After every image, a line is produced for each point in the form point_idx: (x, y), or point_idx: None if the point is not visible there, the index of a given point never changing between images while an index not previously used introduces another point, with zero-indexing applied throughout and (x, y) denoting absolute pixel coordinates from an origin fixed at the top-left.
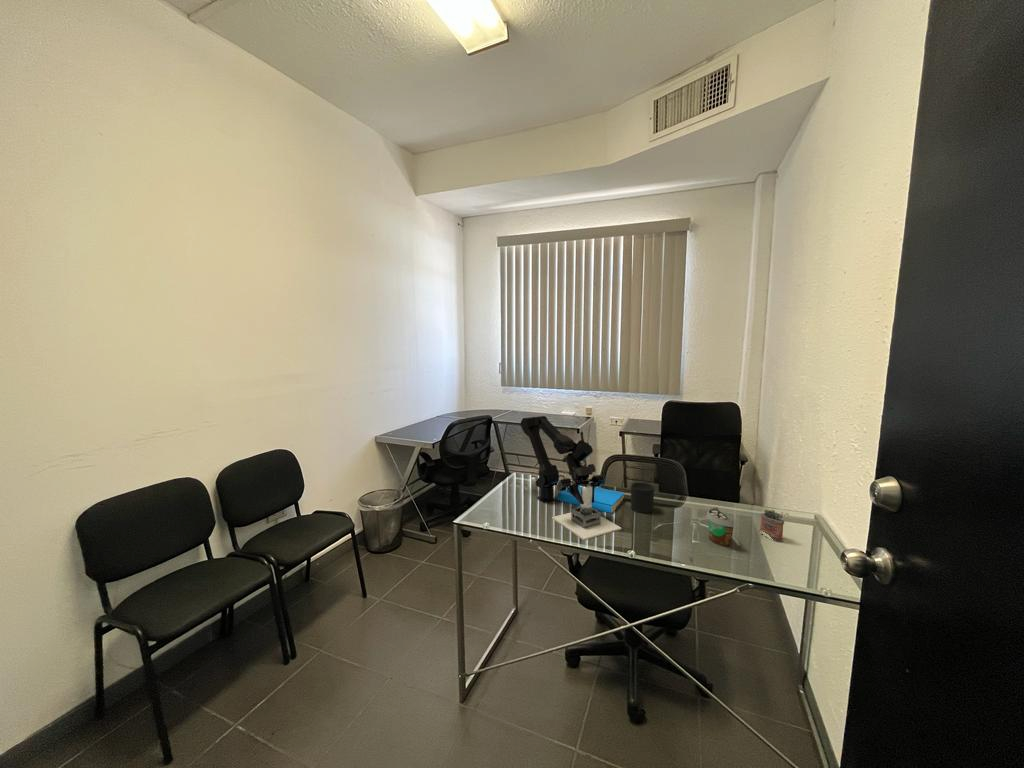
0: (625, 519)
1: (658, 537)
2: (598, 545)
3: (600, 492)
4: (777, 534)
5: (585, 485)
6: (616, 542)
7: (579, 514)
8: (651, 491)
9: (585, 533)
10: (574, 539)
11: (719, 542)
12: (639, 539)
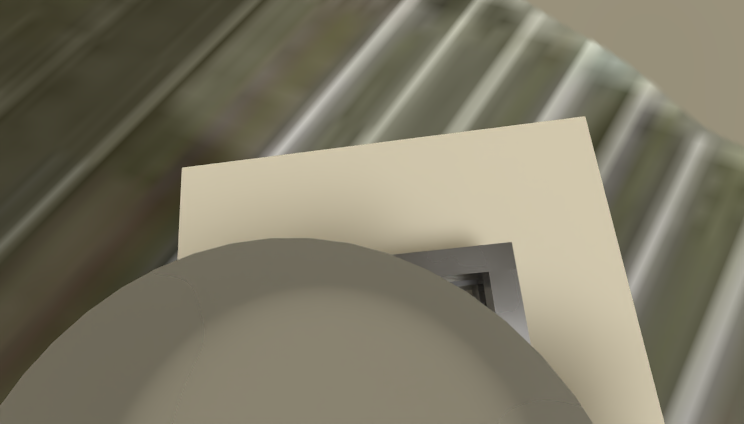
0: (21, 311)
1: (69, 8)
2: (504, 31)
3: None
4: None
5: None
6: (357, 30)
7: (530, 343)
8: None
9: (523, 185)
10: (650, 158)
11: None
12: (191, 20)
